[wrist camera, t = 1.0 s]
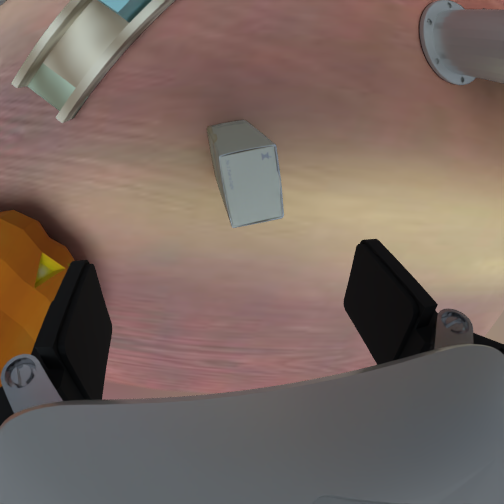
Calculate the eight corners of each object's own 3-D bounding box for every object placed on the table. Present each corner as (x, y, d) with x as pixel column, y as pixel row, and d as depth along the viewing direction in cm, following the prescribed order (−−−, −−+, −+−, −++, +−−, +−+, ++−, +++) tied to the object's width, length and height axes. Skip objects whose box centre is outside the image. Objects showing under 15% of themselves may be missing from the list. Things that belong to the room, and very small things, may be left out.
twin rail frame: (148, -59, 19) (145, -71, 16) (201, -23, 23) (203, -33, 20) (25, 81, 24) (11, 83, 21) (73, 118, 28) (62, 123, 25)
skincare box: (205, 126, 32) (215, 152, 21) (247, 118, 32) (277, 141, 22) (215, 180, 35) (229, 230, 25) (255, 172, 35) (285, 218, 25)
